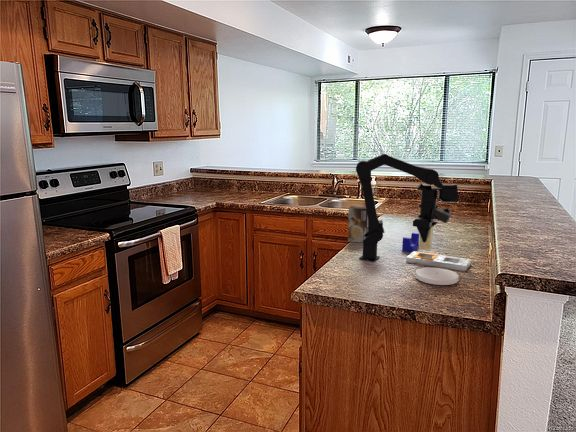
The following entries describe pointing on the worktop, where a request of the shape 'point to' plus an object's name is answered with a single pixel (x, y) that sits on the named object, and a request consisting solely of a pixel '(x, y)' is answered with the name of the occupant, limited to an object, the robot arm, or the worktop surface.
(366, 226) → the coffee box
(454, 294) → the worktop surface
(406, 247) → the blue curved block
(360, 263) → the worktop surface
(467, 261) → the grey plate with holes
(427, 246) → the beige rectangular block
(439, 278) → the plastic lid
